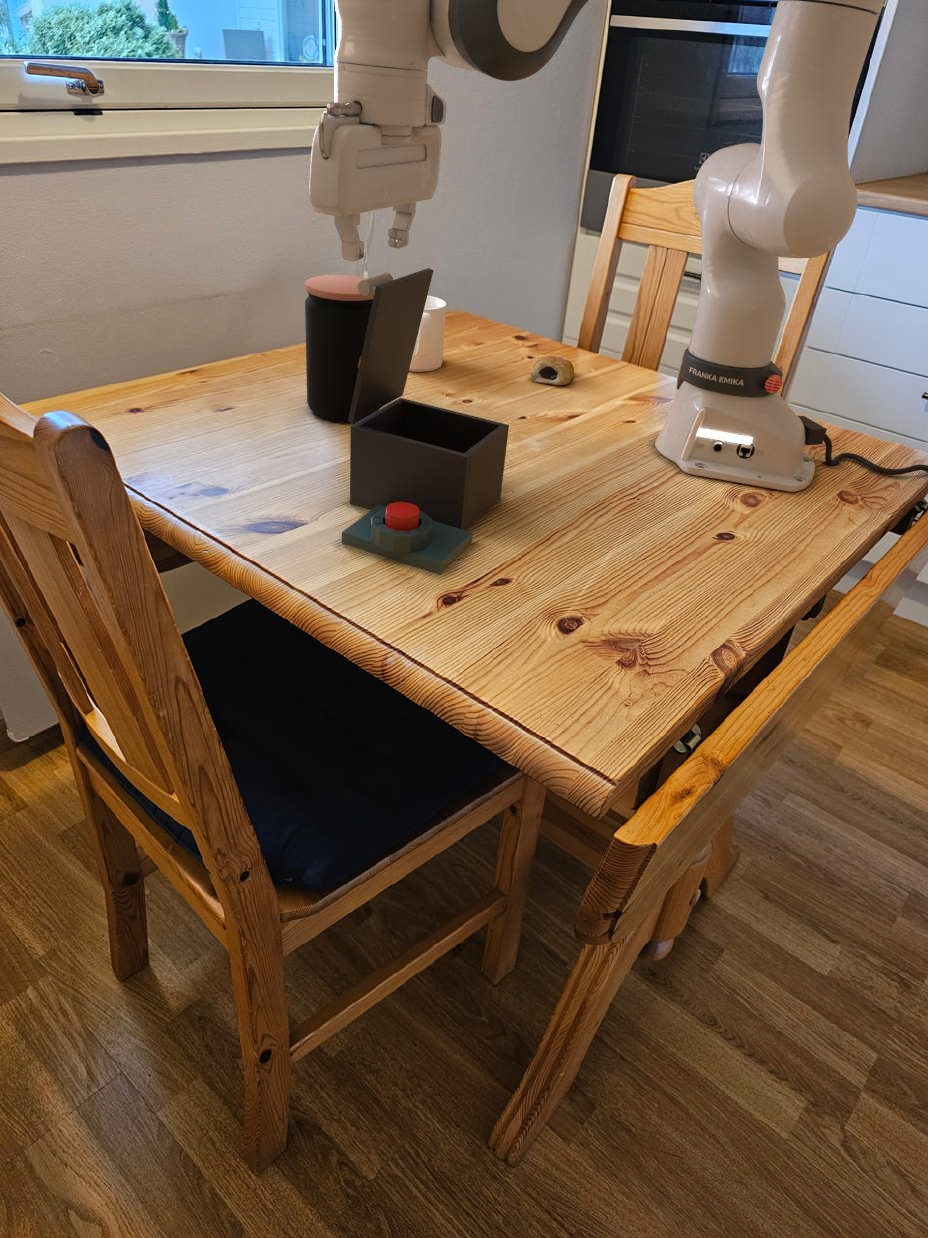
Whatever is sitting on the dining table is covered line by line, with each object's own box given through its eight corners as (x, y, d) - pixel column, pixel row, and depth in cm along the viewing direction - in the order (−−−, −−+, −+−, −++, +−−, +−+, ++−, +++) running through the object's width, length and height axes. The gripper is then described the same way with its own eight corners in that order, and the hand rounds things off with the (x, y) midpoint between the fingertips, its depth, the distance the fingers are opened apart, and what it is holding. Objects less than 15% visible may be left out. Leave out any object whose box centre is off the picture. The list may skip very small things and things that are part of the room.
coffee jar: (368, 429, 121) (370, 297, 111) (296, 418, 122) (292, 287, 112) (388, 404, 129) (392, 280, 119) (321, 394, 131) (319, 270, 121)
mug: (379, 353, 150) (380, 293, 144) (434, 353, 153) (437, 294, 147) (394, 377, 140) (396, 313, 134) (452, 376, 143) (457, 314, 137)
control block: (471, 544, 95) (474, 516, 93) (436, 578, 89) (438, 549, 87) (378, 515, 99) (379, 488, 97) (337, 546, 92) (337, 518, 90)
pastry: (544, 366, 151) (547, 345, 149) (580, 374, 150) (584, 352, 147) (527, 381, 144) (530, 358, 142) (565, 389, 142) (569, 367, 140)
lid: (433, 270, 95) (399, 254, 95) (381, 288, 86) (344, 271, 87) (402, 395, 104) (371, 380, 105) (352, 423, 95) (319, 406, 96)
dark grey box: (500, 500, 105) (509, 424, 100) (460, 537, 96) (467, 457, 91) (397, 470, 110) (400, 397, 104) (349, 504, 101) (350, 425, 95)
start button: (424, 522, 92) (425, 507, 91) (408, 535, 89) (409, 520, 88) (395, 513, 93) (396, 498, 92) (378, 526, 90) (379, 511, 89)
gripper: (351, 105, 74) (349, 273, 81) (454, 104, 89) (444, 245, 97) (290, 97, 76) (294, 262, 83) (401, 97, 91) (396, 236, 99)
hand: (376, 253), depth 90 cm, fingers open, 8 cm apart
